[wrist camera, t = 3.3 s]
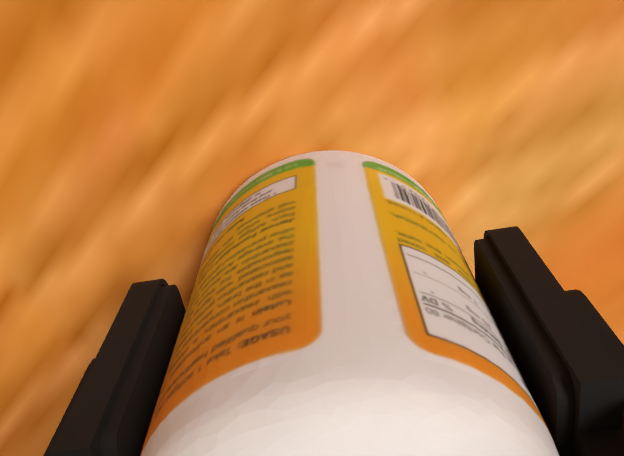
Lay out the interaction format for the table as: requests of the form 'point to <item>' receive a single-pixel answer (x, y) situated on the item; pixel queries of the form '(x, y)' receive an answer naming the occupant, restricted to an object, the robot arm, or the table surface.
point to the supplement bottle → (339, 328)
